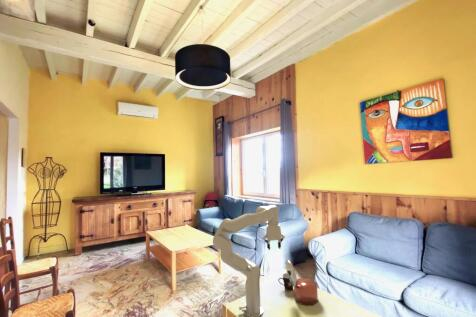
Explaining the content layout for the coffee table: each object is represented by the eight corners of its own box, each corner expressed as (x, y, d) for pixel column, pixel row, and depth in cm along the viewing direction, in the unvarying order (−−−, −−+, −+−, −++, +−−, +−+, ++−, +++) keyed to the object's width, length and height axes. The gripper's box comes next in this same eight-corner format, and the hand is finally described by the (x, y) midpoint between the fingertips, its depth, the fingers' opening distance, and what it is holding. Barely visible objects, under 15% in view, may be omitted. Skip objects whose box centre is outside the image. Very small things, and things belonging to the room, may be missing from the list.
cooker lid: (298, 290, 161) (294, 291, 160) (289, 278, 178) (286, 279, 177) (294, 265, 161) (290, 266, 161) (285, 256, 178) (282, 257, 177)
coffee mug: (295, 286, 188) (294, 273, 188) (293, 292, 180) (293, 278, 180) (280, 284, 192) (279, 272, 192) (278, 290, 184) (277, 277, 184)
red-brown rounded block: (300, 306, 161) (299, 290, 161) (291, 294, 177) (290, 279, 177) (322, 303, 163) (321, 287, 164) (311, 291, 179) (310, 277, 180)
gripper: (262, 225, 164) (263, 251, 163) (286, 223, 166) (287, 249, 166) (259, 222, 171) (260, 248, 170) (283, 221, 174) (284, 245, 173)
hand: (274, 248), depth 168 cm, fingers open, 6 cm apart
